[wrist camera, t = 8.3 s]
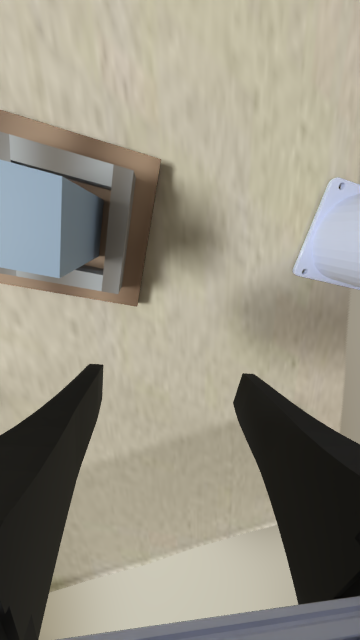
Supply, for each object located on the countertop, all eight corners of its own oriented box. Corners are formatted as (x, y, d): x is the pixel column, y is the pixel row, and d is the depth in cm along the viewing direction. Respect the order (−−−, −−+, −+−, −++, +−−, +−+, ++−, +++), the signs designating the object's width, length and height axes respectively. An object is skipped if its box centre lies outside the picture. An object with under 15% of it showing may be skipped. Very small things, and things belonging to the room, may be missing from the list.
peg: (103, 199, 16) (62, 176, 8) (98, 256, 17) (59, 278, 10) (43, 184, 15) (-62, 142, 8) (43, 244, 16) (-45, 259, 9)
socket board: (160, 163, 16) (162, 148, 13) (137, 302, 20) (135, 315, 17) (-10, 111, 14) (-54, 80, 11) (2, 279, 18) (-27, 289, 15)
